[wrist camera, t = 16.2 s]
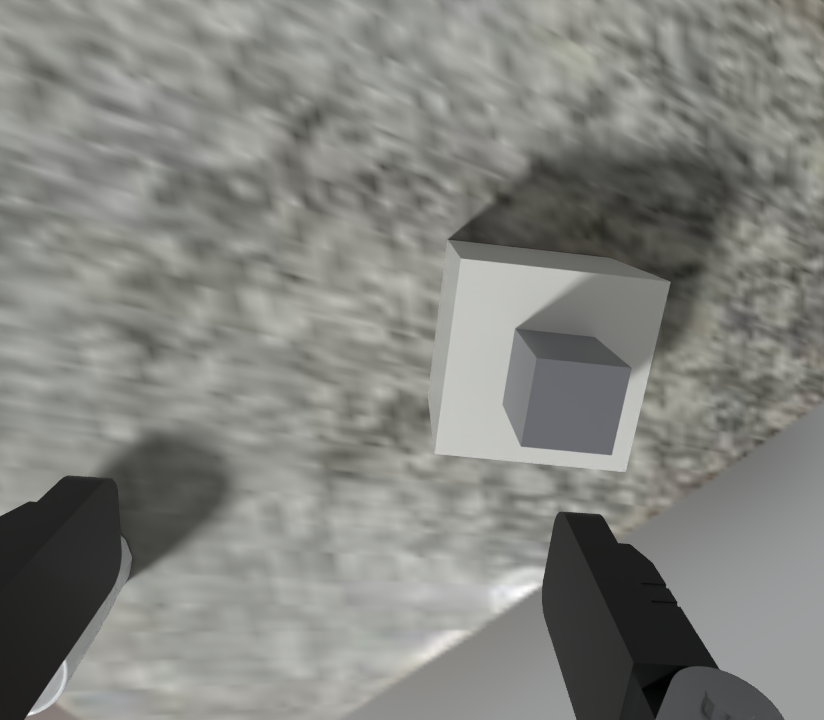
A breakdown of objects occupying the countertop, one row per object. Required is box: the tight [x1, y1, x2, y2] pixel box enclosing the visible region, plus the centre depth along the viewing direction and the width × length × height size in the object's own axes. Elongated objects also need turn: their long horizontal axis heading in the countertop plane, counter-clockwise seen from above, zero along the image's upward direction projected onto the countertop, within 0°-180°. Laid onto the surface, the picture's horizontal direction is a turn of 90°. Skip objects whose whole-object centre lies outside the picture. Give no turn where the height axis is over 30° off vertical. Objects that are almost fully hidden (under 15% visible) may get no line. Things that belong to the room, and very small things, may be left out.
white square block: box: [428, 240, 671, 472], centre depth 32 cm, size 10×10×14 cm
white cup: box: [27, 536, 132, 716], centre depth 38 cm, size 8×8×10 cm
